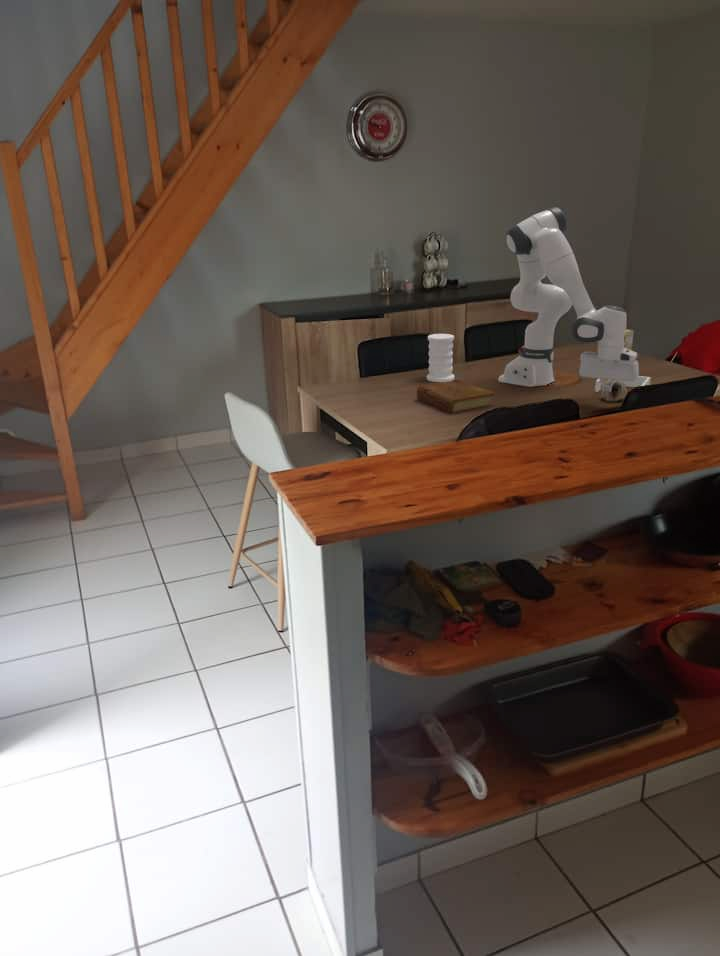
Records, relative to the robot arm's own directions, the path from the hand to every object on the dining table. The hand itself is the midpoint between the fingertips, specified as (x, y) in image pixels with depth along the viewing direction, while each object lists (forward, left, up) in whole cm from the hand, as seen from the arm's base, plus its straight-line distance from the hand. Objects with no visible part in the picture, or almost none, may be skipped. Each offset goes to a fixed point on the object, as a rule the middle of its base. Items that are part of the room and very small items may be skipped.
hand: (606, 391), depth 266 cm
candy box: (-10, +69, -6) cm, 70 cm away
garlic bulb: (+1, +10, -6) cm, 12 cm away
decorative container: (-71, +13, -6) cm, 73 cm away
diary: (-51, -18, -6) cm, 55 cm away
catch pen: (+1, +24, -6) cm, 25 cm away
